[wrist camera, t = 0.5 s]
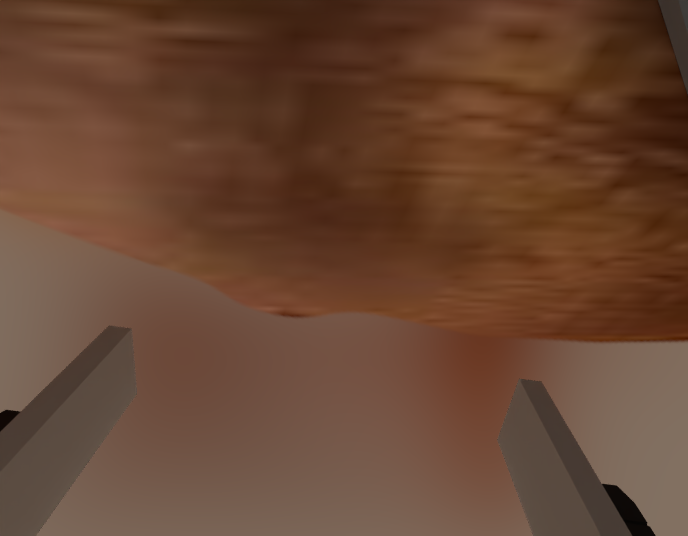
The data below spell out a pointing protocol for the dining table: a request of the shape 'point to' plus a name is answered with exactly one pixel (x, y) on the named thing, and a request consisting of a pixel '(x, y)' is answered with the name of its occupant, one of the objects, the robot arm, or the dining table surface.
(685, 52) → the stand
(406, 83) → the dining table surface
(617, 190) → the dining table surface
